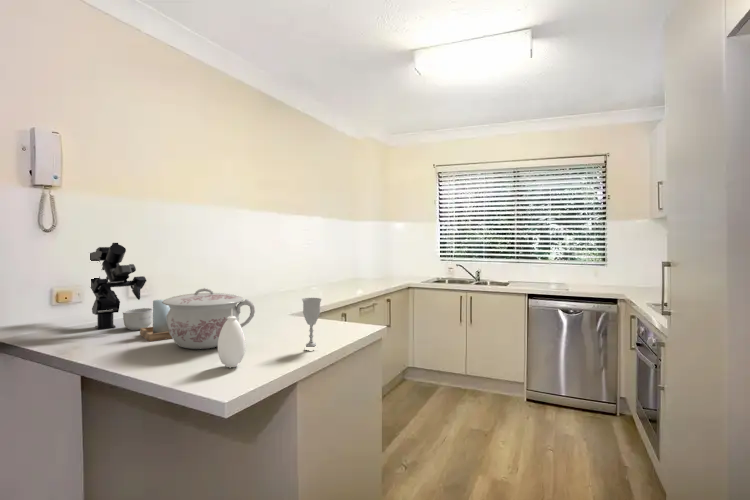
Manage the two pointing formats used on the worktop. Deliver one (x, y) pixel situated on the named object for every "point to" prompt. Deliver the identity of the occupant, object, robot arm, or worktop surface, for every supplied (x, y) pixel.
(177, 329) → the chamber pot
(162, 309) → the pale blue rounded cylinder
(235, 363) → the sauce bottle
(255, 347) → the worktop surface
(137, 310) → the teacup
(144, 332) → the tray
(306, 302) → the chalice
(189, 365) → the worktop surface
